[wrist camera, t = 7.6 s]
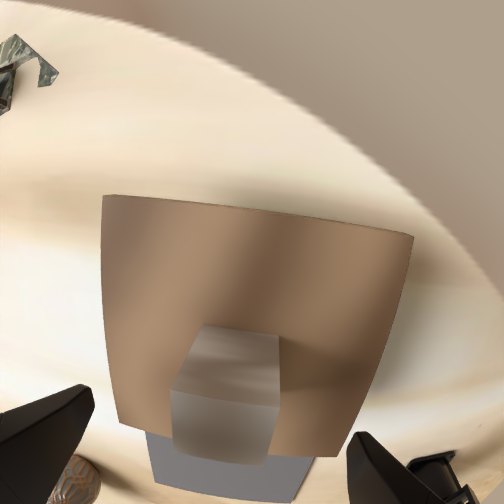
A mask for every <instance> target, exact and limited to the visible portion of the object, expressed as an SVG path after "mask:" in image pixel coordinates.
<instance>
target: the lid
mask: <svg viewBox="0 0 504 504" xmlns="http://www.w3.org/2000/svg"><path fill="white" fill-rule="evenodd" d="M413 240H414V237H413V236H411V235H408V234H406V233H402V232H396V231H391V230H385V229H380V228H374V227H369V226H363V225H357V224H351V223H345V222H339V221H333V220H327V219H320V218H314V217H307V216H301V215H294V214H287V213H280V212H273V211H265V210H258V209H250V208H242V207H234V206H226V205H218V204H209V203H200V202H191V201H181V200H171V199H161V198H150V197H139V196H127V195H115V194H114V195H103V201H102V219H101V286H102V305H103V319H104V330H105V339H106V348H107V356H108V363H109V370H110V377H111V383H112V389H113V394H114V400H115V405H116V410H117V414H118V419H119V423H122V424H125V425H128V426H131V427H134V428H137V429H140V430H144V431H147V432H150V433H154V434H158V435H161V436H165V437H169V438H173V449H174V452H177V453H181V454H185V455H189V456H194V457H199V458H204V459H209V460H215V461H221V462H227V463H233V464H241V465H249V466H258V467H264V463H265V460H266V457H267V455H280V456H297V457H337V456H338V454H339V452H340V450H341V448H342V446H343V444H344V442H345V440H346V438H347V436H348V434H349V432H350V430H351V428H352V426H353V424H354V422H355V420H356V418H357V415H358V413H359V411H360V409H361V406H362V404H363V402H364V400H365V397H366V395H367V393H368V390H369V388H370V385H371V383H372V380H373V378H374V375H375V373H376V370H377V367H378V365H379V362H380V359H381V357H382V354H383V351H384V348H385V345H386V342H387V339H388V336H389V333H390V330H391V327H392V324H393V320H394V317H395V314H396V310H397V307H398V303H399V300H400V296H401V292H402V289H403V285H404V281H405V277H406V273H407V268H408V264H409V260H410V255H411V250H412V245H413Z"/></svg>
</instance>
